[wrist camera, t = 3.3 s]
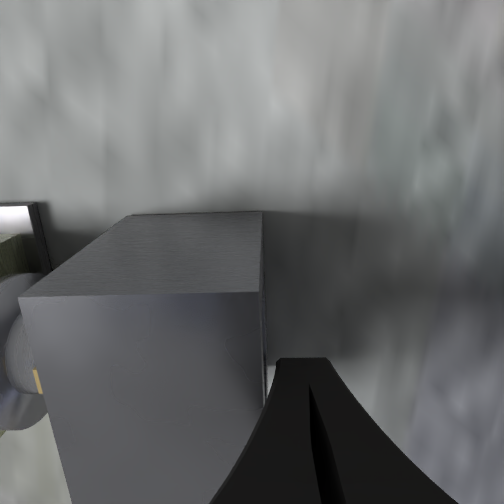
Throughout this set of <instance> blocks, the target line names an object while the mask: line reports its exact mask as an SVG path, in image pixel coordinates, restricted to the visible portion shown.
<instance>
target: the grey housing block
mask: <svg viewBox="0 0 504 504" xmlns="http://www.w3.org/2000/svg"><path fill="white" fill-rule="evenodd" d="M17 298H18V302H19V306H20V309H21V313H22V317H23V321H24V324H25V328H26V332H27V336H28V339H29V343H30V347H31V351H32V354H33V358H34V362H35V366H36V369H37V373H38V377H39V381H40V384H41V388H42V392H43V396H44V399H45V403H46V407H47V411H48V414H49V418H50V422H51V426H52V429H53V433H54V437H55V441H56V444H57V448H58V452H59V456H60V459H61V463H62V467H63V471H64V474H65V478H66V482H67V486H68V489H69V493H70V497H71V501H72V504H209V503H210V501H211V500H212V498H213V497H214V495H215V494H216V493H217V491H218V490H219V488H220V487H221V485H222V484H223V482H224V481H225V479H226V478H227V476H228V475H229V473H230V471H231V470H232V468H233V466H234V465H235V463H236V461H237V460H238V458H239V456H240V455H241V453H242V451H243V449H244V447H245V445H246V444H247V442H248V440H249V438H250V436H251V434H252V432H253V429H254V427H255V425H256V423H257V421H258V419H259V417H260V415H261V413H262V410H263V407H264V405H265V402H266V400H267V397H268V368H267V339H266V310H265V281H264V251H263V222H262V211H258V212H227V213H197V214H167V215H137V216H126V217H125V218H123V219H122V220H121V221H119V222H118V223H117V224H115V225H114V226H113V227H111V228H110V229H109V230H107V231H106V232H104V233H103V234H102V235H100V236H99V237H98V238H96V239H95V240H94V241H92V242H91V243H90V244H88V245H87V246H86V247H84V248H83V249H82V250H80V251H79V252H78V253H76V254H75V255H74V256H72V257H71V258H70V259H68V260H67V261H66V262H64V263H63V264H61V265H60V266H59V267H57V268H56V269H55V270H53V271H52V272H51V273H49V274H48V275H47V276H45V277H44V278H43V279H41V280H40V281H39V282H37V283H36V284H35V285H33V286H32V287H31V288H29V289H28V290H27V291H25V292H24V293H22V294H21V295H20V296H18V297H17Z"/></svg>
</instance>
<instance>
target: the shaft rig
mask: <svg viewBox="0 0 504 504" xmlns="http://www.w3.org/2000/svg"><path fill="white" fill-rule="evenodd" d="M51 272H52V269H51V265H50V260H49V256H48V251H47V247H46V243H45V238H44V234H43V230H42V225H41V221H40V216H39V212H38V208H37V203H36V202H33V203H4V204H0V437H1V436H2V435H3V434H4V432H5V431H6V430H23V429H26V428H29V427H31V426H33V425H34V424H36V423H37V422H38V421H40V420H41V419H42V418H43V417H44V416H45V415H46V414H47V412H48V411H47V407H46V403H45V399H44V396H43V392H42V388H41V384H40V381H39V377H38V373H37V369H36V366H35V362H34V358H33V354H32V351H31V347H30V343H29V339H28V336H27V332H26V328H25V324H24V321H23V317H22V313H21V309H20V306H19V302H18V298H17V297H18V296H20V295H21V294H22V293H24V292H25V291H27V290H28V289H29V288H31V287H32V286H33V285H35V284H36V283H37V282H39V281H40V280H41V279H43V278H44V277H45V276H47V275H48V274H49V273H51Z"/></svg>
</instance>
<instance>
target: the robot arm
mask: <svg viewBox="0 0 504 504" xmlns="http://www.w3.org/2000/svg"><path fill="white" fill-rule="evenodd" d="M209 504H458V503H457V502H456V501H455V500H454V499H452V498H451V497H450V496H449V495H448V494H446V493H445V492H444V491H443V490H442V489H441V488H440V487H439V486H437V485H436V484H435V483H434V482H433V481H432V480H431V479H430V478H429V477H428V476H426V475H425V474H424V473H423V472H422V471H421V470H420V469H419V468H418V467H417V466H416V465H415V464H414V463H413V462H412V461H411V460H410V459H409V458H408V457H407V456H406V455H405V454H404V453H403V452H402V451H401V450H400V449H399V448H398V447H397V446H396V445H395V444H394V443H393V442H392V441H391V439H390V438H389V437H388V436H387V435H386V434H385V433H384V432H383V431H382V430H381V428H380V427H379V426H378V425H377V424H376V423H375V422H374V420H373V419H372V418H371V417H370V416H369V414H368V413H367V412H366V411H365V409H364V408H363V407H362V406H361V404H360V403H359V402H358V401H357V400H356V398H355V397H354V396H353V394H352V393H351V392H350V390H349V389H348V388H347V386H346V385H345V383H344V382H343V381H342V379H341V378H340V376H339V375H338V373H337V372H336V370H335V369H334V367H333V366H332V364H331V363H330V361H329V360H328V359H327V358H326V357H323V358H280V359H279V360H278V361H277V362H276V370H275V375H274V379H273V383H272V386H271V389H270V392H269V395H268V397H267V400H266V402H265V405H264V407H263V410H262V413H261V415H260V417H259V419H258V421H257V423H256V425H255V427H254V429H253V432H252V434H251V436H250V438H249V440H248V442H247V444H246V445H245V447H244V449H243V451H242V453H241V455H240V456H239V458H238V460H237V461H236V463H235V465H234V466H233V468H232V470H231V471H230V473H229V475H228V476H227V478H226V479H225V481H224V482H223V484H222V485H221V487H220V488H219V490H218V491H217V493H216V494H215V495H214V497H213V498H212V500H211V501H210V503H209Z"/></svg>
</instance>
